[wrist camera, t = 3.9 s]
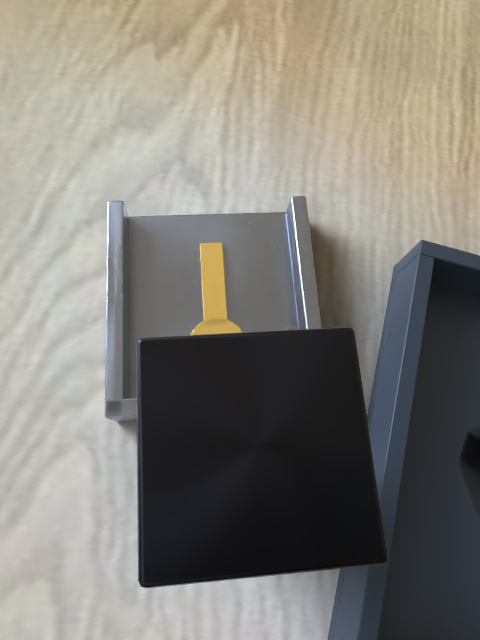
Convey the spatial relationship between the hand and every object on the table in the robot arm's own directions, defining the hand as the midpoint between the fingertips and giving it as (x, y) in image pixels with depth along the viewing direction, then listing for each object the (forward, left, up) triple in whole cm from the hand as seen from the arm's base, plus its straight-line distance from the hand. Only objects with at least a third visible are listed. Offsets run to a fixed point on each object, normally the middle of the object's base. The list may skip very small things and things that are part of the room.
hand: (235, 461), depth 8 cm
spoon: (+5, +3, -8) cm, 9 cm away
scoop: (+4, +2, -8) cm, 9 cm away
